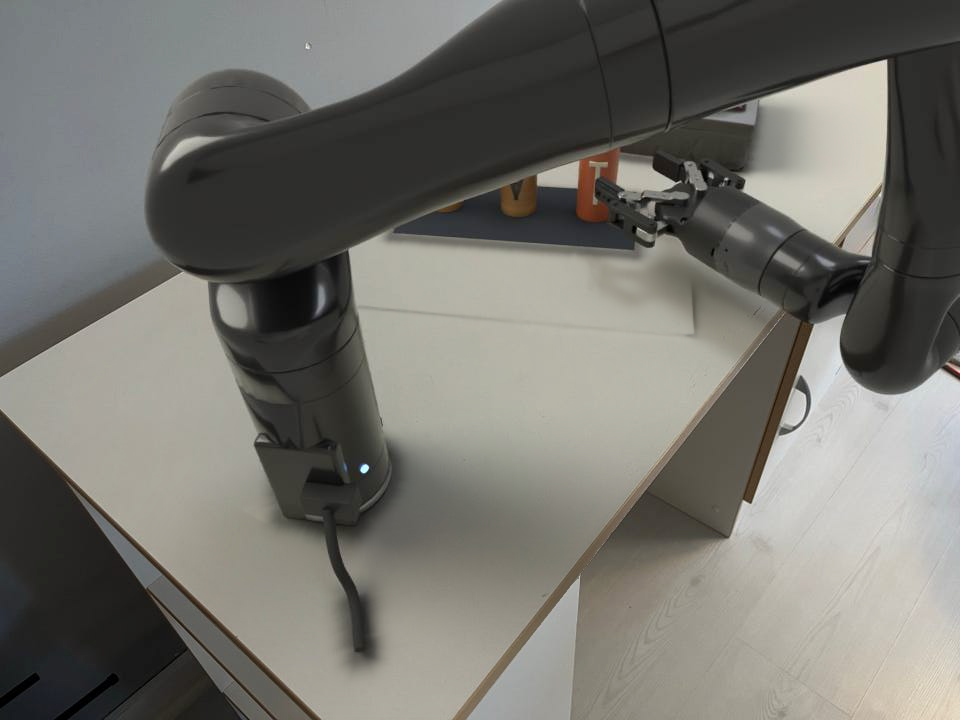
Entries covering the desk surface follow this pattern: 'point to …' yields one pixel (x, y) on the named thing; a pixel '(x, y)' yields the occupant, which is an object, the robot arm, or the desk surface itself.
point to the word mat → (521, 222)
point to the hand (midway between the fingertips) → (626, 171)
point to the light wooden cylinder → (519, 197)
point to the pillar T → (588, 173)
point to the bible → (707, 138)
